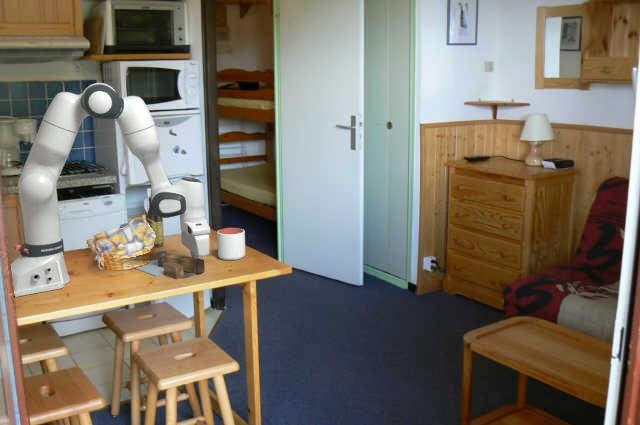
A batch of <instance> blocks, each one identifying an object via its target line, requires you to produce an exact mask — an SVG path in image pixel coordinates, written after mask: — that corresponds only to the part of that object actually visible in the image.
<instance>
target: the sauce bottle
mask: <svg viewBox="0 0 640 425" xmlns="http://www.w3.org/2000/svg"><path fill="white" fill-rule="evenodd" d="M148 204H149V205H148V211H147V214H146V217H145V218H146V223H147V222H148V223H149V225H150V227H151V228H152V229H153V231H154V232H155V235H156V238H155V241H154V248H162V247H164V245H165V244H164V242H165V237H164V236H165V235H164V233H165V232H164V218H162V217H159V216H157V215H156V214H155V213H154V212H153V210H152V206H151V195H150V196H148Z"/></svg>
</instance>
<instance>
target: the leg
mask: <svg viewBox="0 0 640 425" xmlns="http://www.w3.org/2000/svg"><path fill="white" fill-rule="evenodd" d="M156 255H157V258H156V259H157V260H158V266H162V267H164V263H168V262H173V263H176V264H179V265H182V266H183V271H187V272H192V273H197V274H198V275H199V274H201V273H203V272H205V270H206V269H205V259H202V258H199V259H197V258H192V256H186V255H180V254H173V253H167V251H165V250H163V251H161V250H160V251H157V253H156Z"/></svg>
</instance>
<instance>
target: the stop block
mask: <svg viewBox="0 0 640 425" xmlns="http://www.w3.org/2000/svg"><path fill="white" fill-rule="evenodd" d="M197 275H199V273H198V274H197V273H192V272H187V271H183V266H182V265H179V264H176V263H173V262H168V263H164V276H166V277H169V278H171V279H175V280H179V279H186V278H190V277H193V276H197Z"/></svg>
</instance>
